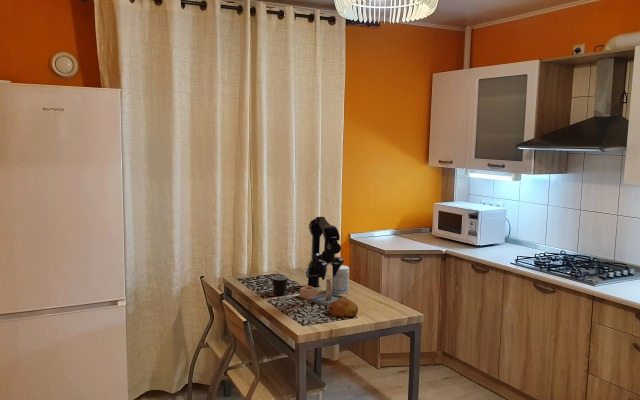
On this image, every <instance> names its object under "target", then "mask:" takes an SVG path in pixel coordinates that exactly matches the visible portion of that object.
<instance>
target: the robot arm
mask: <svg viewBox="0 0 640 400" xmlns="http://www.w3.org/2000/svg"><path fill="white" fill-rule="evenodd" d="M308 229H309V233H310V234H311V260H310V262H309V263H308V267H307V269H306V272H305V277H306V278H307V279H308V280H307V286H311V287H315V288H317V289H318V288H321V286H320V278H321V280H323V281H324V280H325V278H326V274H327V271H328V266H329V265H331V267H332V277H335V275H336V273H337V272H338V270H339V268H340V266H341V265H344V258H342V257H339V256H335V255H336V254H340V253H341V251H342V247H341V246H342V245H340V243H338V242H339V241H340V236H341V235H340V233H339V230H338V228H337V227H336V226H335V225H333V224H332V225H331V224H330V223H329V222H328V221H327V220H326V217H324V216H316V217H315V218H314V219H312V220H310V222H309V224H308ZM321 236H322V237H323V239H324V246H323V247H324V248H323V251H322V252H321V253H320V250H321Z"/></svg>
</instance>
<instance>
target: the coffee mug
mask: <svg viewBox="0 0 640 400" xmlns="http://www.w3.org/2000/svg"><path fill="white" fill-rule="evenodd" d="M288 280H289V279H288V276H284V275H275V276H272V277H271V281H272V282H271V283H272V292H273V296H275V297H284V296H286V292H287V285H288Z"/></svg>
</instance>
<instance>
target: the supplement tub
mask: <svg viewBox="0 0 640 400" xmlns="http://www.w3.org/2000/svg"><path fill="white" fill-rule="evenodd" d="M331 280H332V293H333V292H334V294H347V293H348V292H349V283H350V267H349V266H347V265H344V264H342V265H341V266H340V268H339V270H338V272H337V273H336V275H335V277H333V276H332V279H331Z"/></svg>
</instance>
